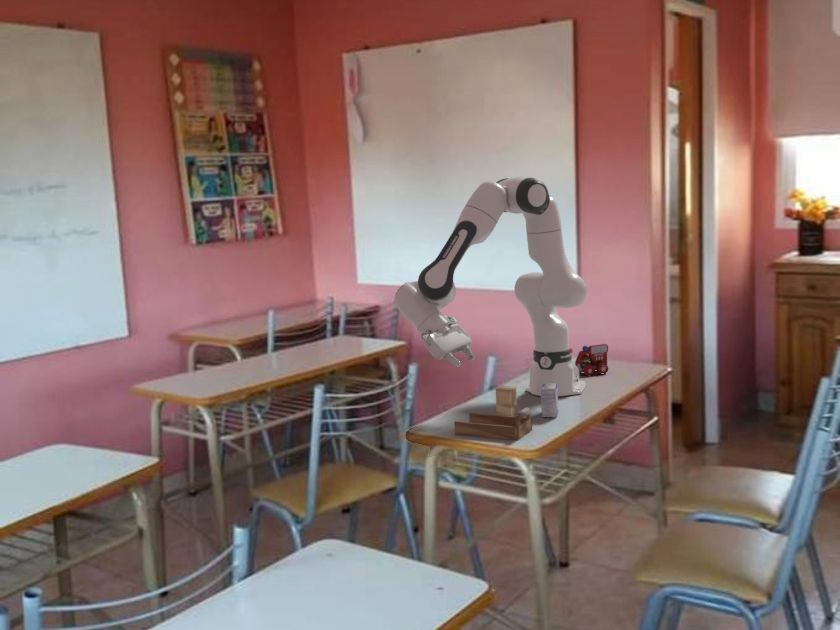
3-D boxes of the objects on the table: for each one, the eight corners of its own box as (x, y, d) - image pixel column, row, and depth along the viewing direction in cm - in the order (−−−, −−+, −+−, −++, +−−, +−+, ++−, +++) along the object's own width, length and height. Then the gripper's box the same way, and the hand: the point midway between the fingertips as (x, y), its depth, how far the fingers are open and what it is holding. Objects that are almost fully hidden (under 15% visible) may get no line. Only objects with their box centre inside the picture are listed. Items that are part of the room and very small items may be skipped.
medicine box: (557, 418, 266) (556, 388, 265) (541, 418, 267) (540, 389, 266) (558, 411, 274) (557, 382, 273) (543, 411, 275) (542, 383, 274)
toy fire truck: (571, 373, 325) (570, 345, 324) (603, 370, 329) (602, 341, 327) (580, 377, 319) (579, 348, 317) (612, 373, 322) (611, 344, 321)
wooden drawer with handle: (470, 424, 263) (469, 401, 262) (534, 430, 254) (533, 405, 253) (454, 434, 254) (453, 409, 253) (520, 440, 245) (519, 414, 244)
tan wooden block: (503, 418, 268) (501, 385, 267) (517, 420, 266) (516, 386, 265) (497, 422, 264) (495, 388, 263) (511, 424, 262) (510, 389, 261)
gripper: (425, 326, 262) (457, 361, 258) (456, 316, 279) (486, 349, 276) (412, 341, 264) (444, 376, 261) (443, 330, 282) (474, 363, 279)
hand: (466, 362), depth 269 cm, fingers open, 8 cm apart
